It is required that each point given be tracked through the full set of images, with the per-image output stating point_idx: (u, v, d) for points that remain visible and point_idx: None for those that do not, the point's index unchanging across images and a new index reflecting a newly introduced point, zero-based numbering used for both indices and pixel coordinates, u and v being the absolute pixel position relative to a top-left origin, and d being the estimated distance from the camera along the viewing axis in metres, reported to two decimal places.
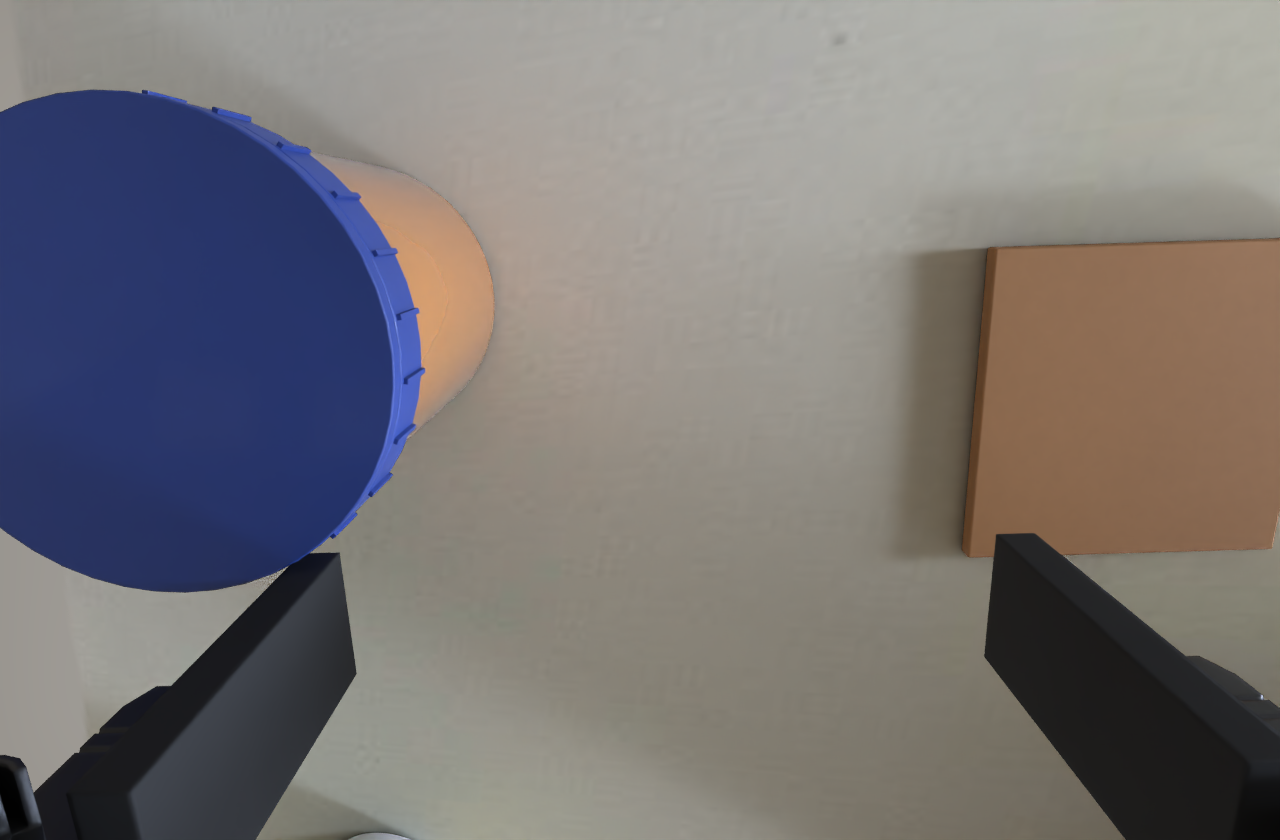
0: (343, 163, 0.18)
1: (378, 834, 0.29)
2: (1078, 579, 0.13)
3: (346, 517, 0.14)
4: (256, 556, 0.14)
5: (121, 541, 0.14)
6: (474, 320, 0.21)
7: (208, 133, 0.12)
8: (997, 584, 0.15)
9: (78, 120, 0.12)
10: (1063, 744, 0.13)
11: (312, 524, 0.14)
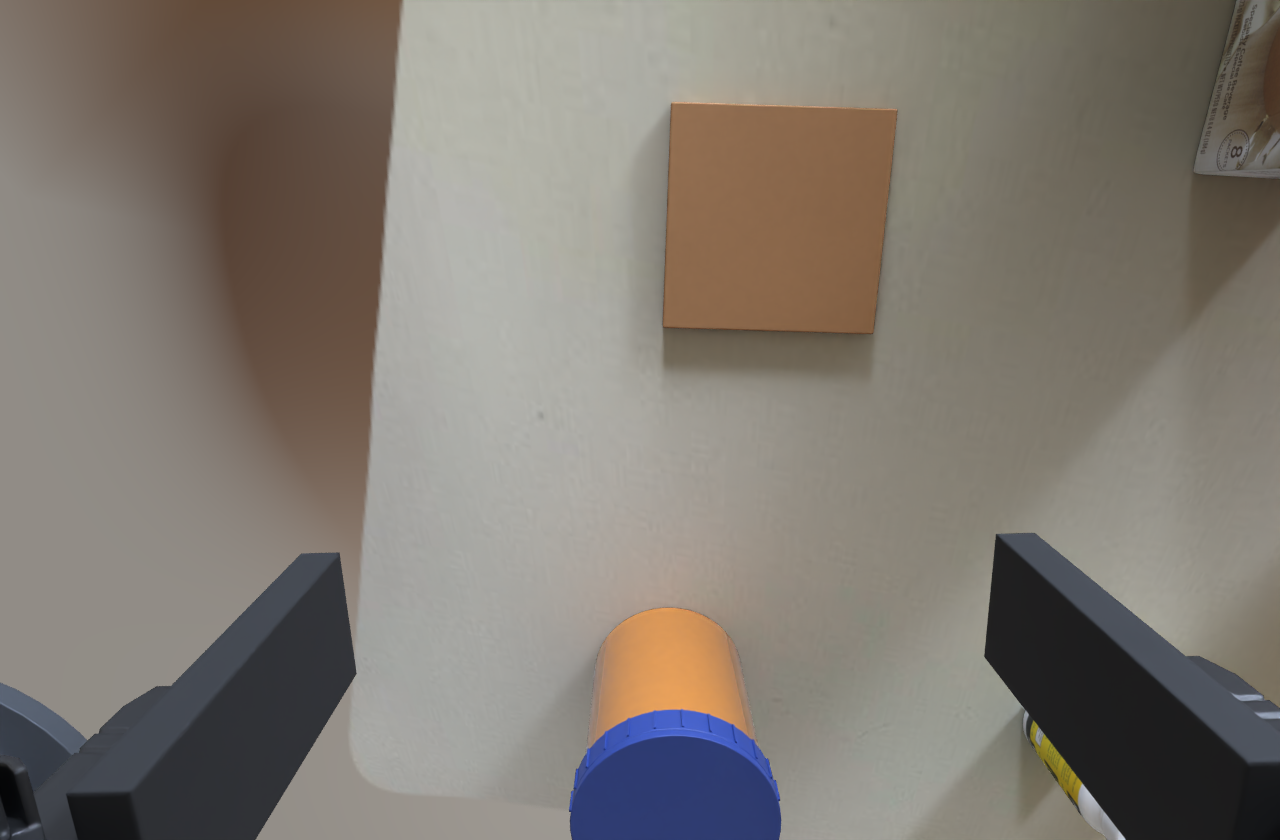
0: (597, 700, 0.37)
1: (1024, 716, 0.43)
2: (1078, 579, 0.13)
3: (744, 756, 0.31)
4: (763, 792, 0.31)
5: None
6: (680, 637, 0.39)
7: (583, 794, 0.32)
8: (997, 584, 0.15)
9: (581, 836, 0.32)
10: (1063, 744, 0.13)
11: (747, 769, 0.31)
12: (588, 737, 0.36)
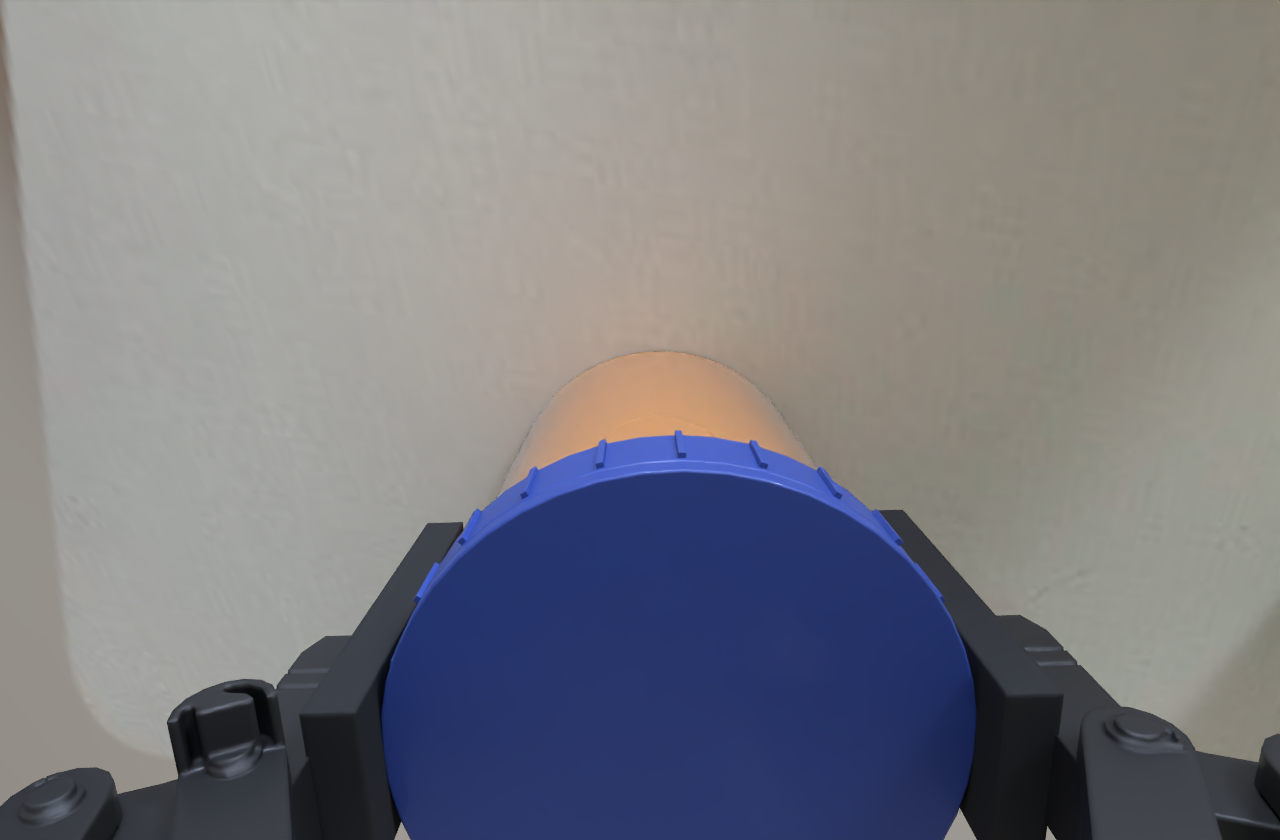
0: None
1: None
2: (925, 549, 0.15)
3: (868, 527, 0.10)
4: (926, 635, 0.11)
5: (907, 783, 0.12)
6: (675, 373, 0.18)
7: (409, 674, 0.11)
8: None
9: (420, 796, 0.12)
10: None
11: (879, 568, 0.11)
12: None
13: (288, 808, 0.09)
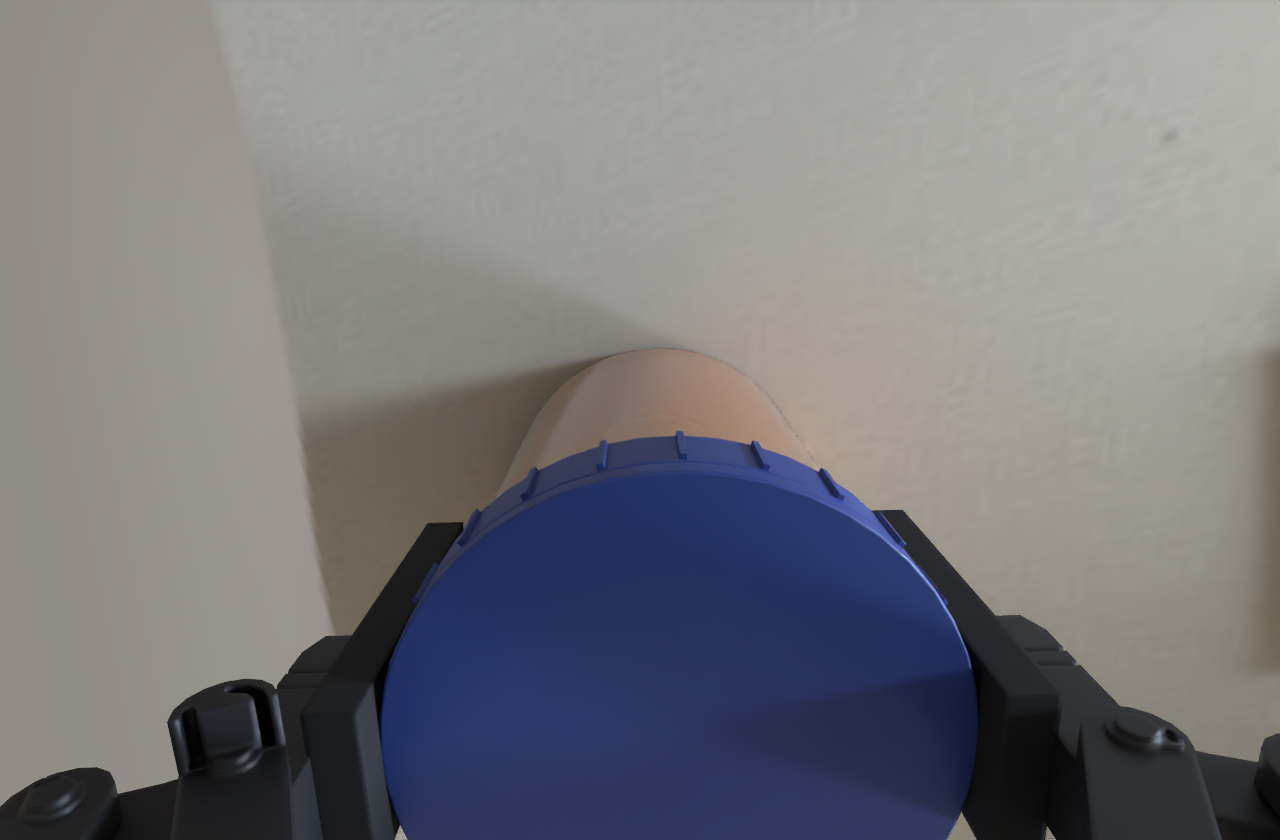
0: (721, 400, 0.16)
1: None
2: (925, 549, 0.15)
3: (871, 529, 0.10)
4: (928, 638, 0.11)
5: (908, 786, 0.11)
6: None
7: (408, 676, 0.11)
8: None
9: (419, 798, 0.11)
10: None
11: (882, 571, 0.11)
12: (681, 412, 0.14)
13: (289, 808, 0.09)
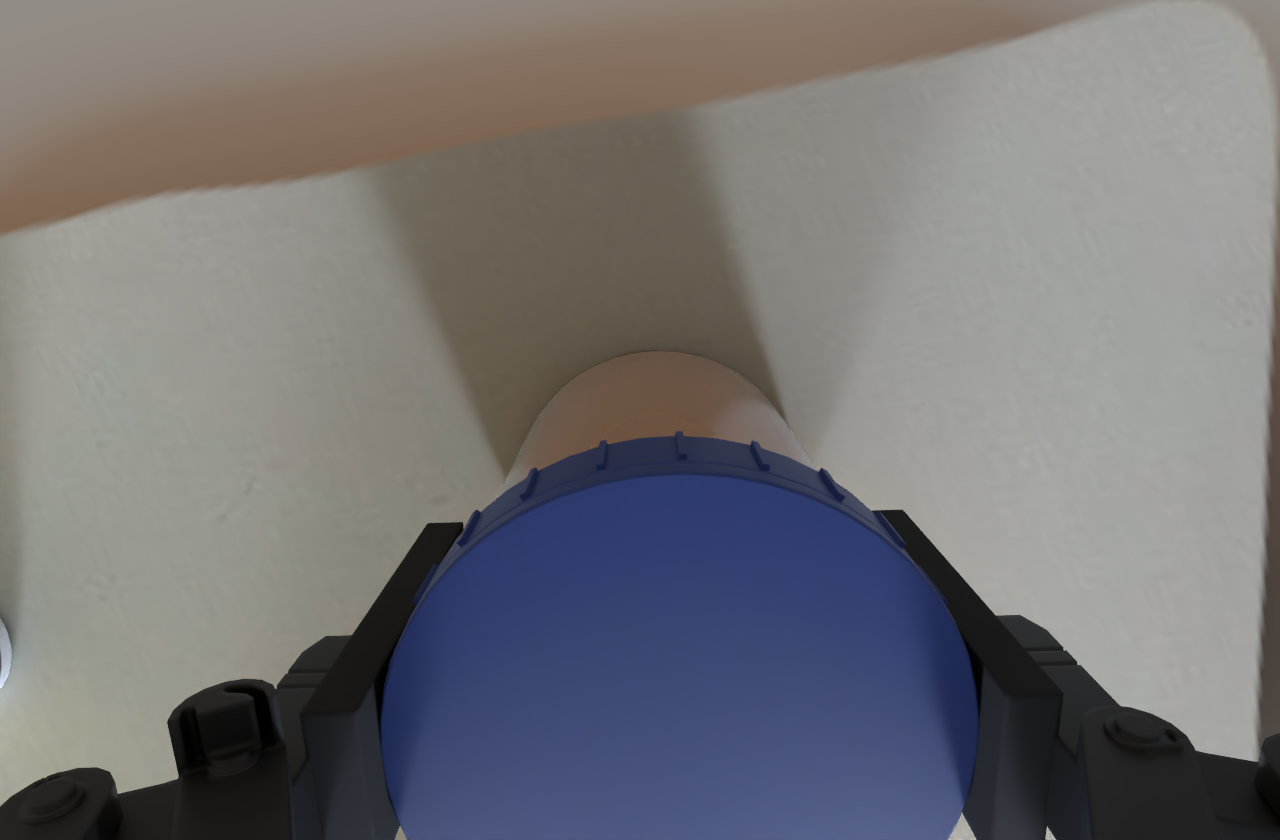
0: None
1: (1, 625, 0.23)
2: (925, 549, 0.15)
3: (871, 529, 0.10)
4: (928, 639, 0.11)
5: (909, 787, 0.11)
6: None
7: (408, 676, 0.11)
8: None
9: (419, 799, 0.11)
10: None
11: (882, 571, 0.11)
12: None
13: (288, 808, 0.09)
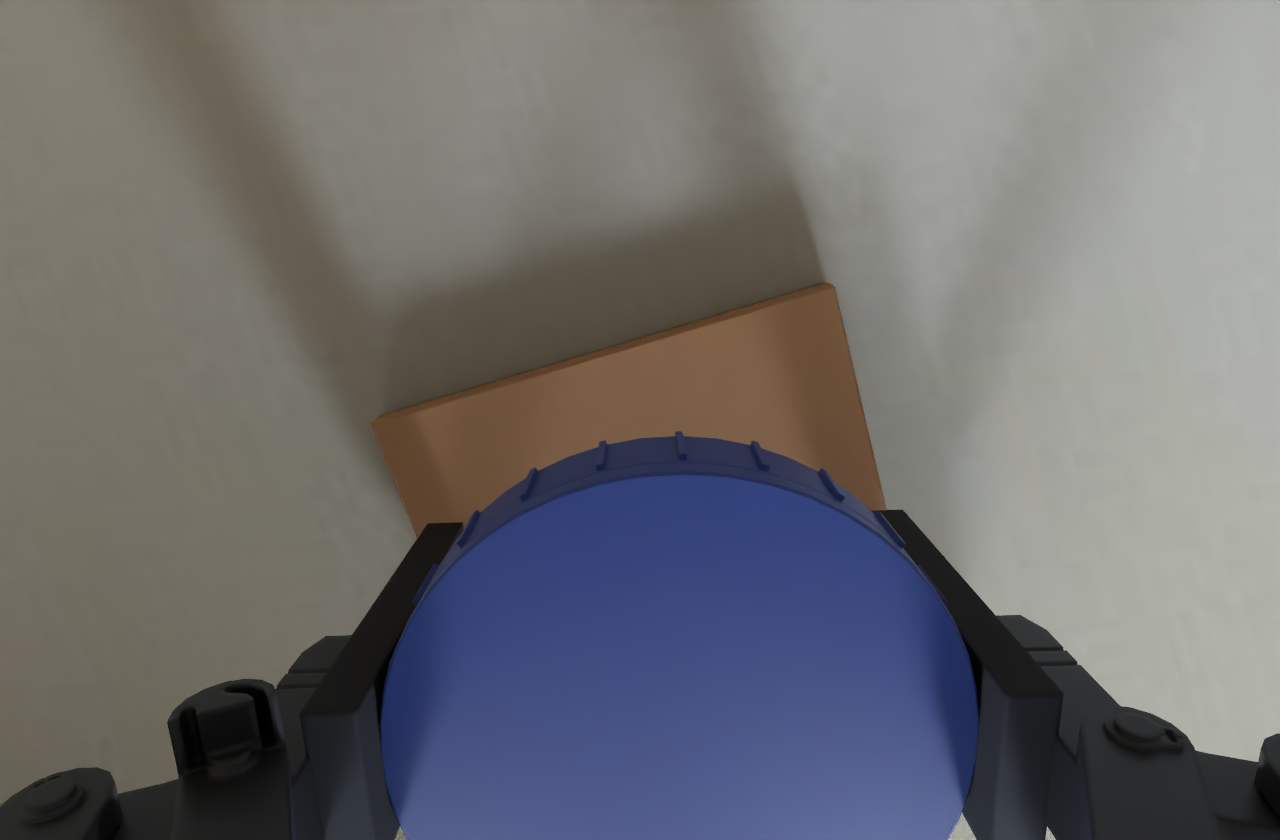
0: None
1: None
2: (925, 549, 0.15)
3: (871, 529, 0.10)
4: (928, 639, 0.11)
5: (909, 787, 0.11)
6: None
7: (408, 677, 0.11)
8: None
9: (419, 799, 0.11)
10: None
11: (882, 571, 0.11)
12: None
13: (289, 808, 0.09)
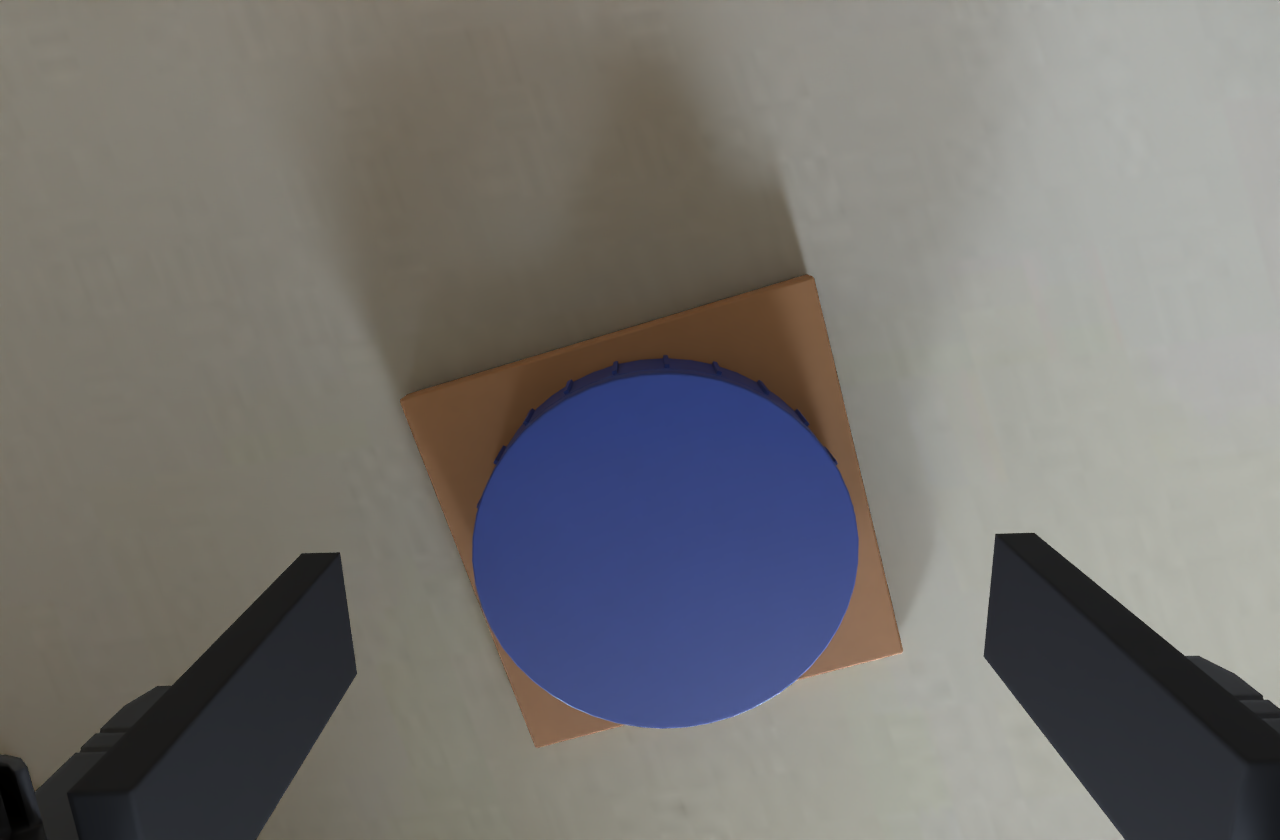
0: None
1: None
2: (1078, 579, 0.13)
3: (784, 410, 0.17)
4: (823, 482, 0.17)
5: (814, 585, 0.18)
6: None
7: (492, 508, 0.17)
8: (996, 584, 0.15)
9: (496, 593, 0.18)
10: (1062, 744, 0.13)
11: (792, 438, 0.17)
12: None
13: None
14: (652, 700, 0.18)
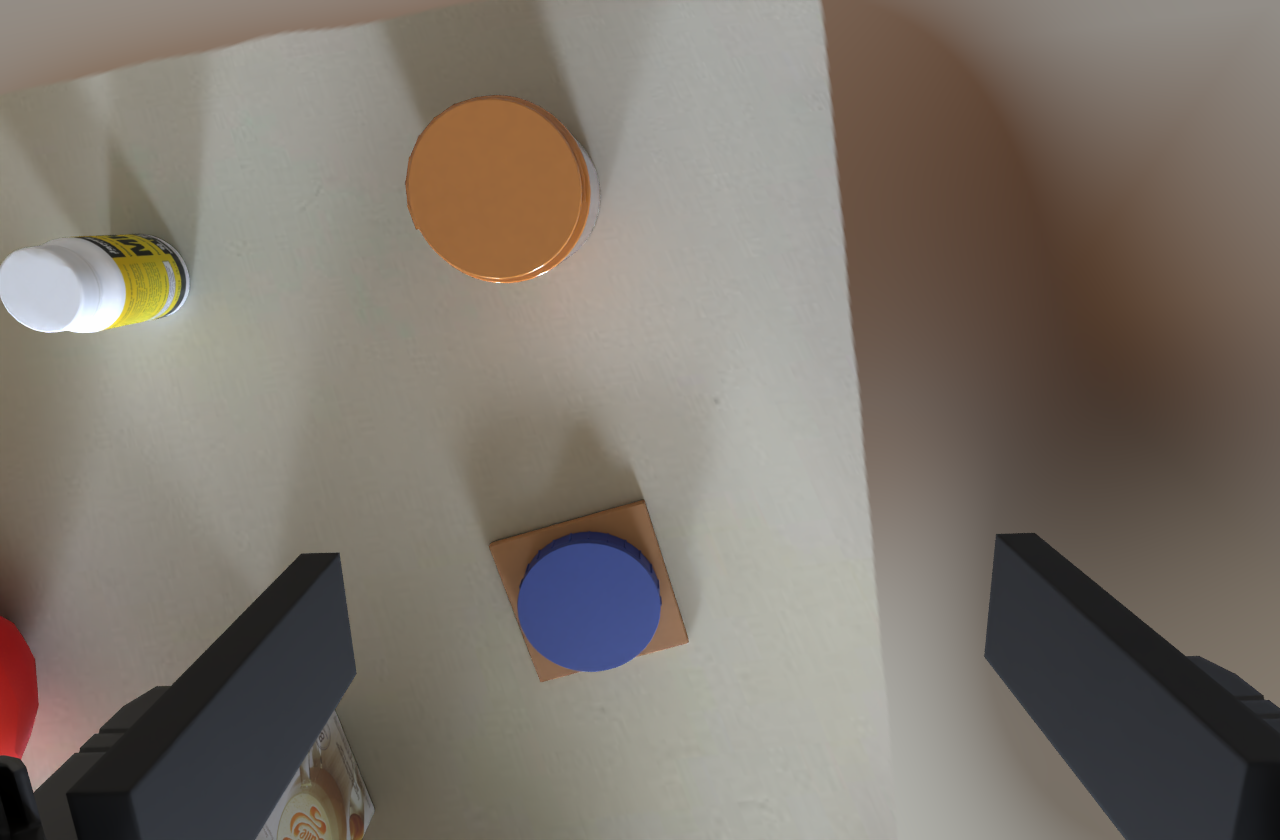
0: (594, 208, 0.38)
1: (186, 267, 0.44)
2: (1078, 579, 0.13)
3: (630, 555, 0.46)
4: (645, 580, 0.47)
5: (644, 617, 0.47)
6: None
7: (525, 589, 0.47)
8: (997, 584, 0.15)
9: (526, 620, 0.47)
10: (1063, 744, 0.13)
11: (633, 564, 0.46)
12: (593, 188, 0.36)
13: None
14: (585, 660, 0.48)
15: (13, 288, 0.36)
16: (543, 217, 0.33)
